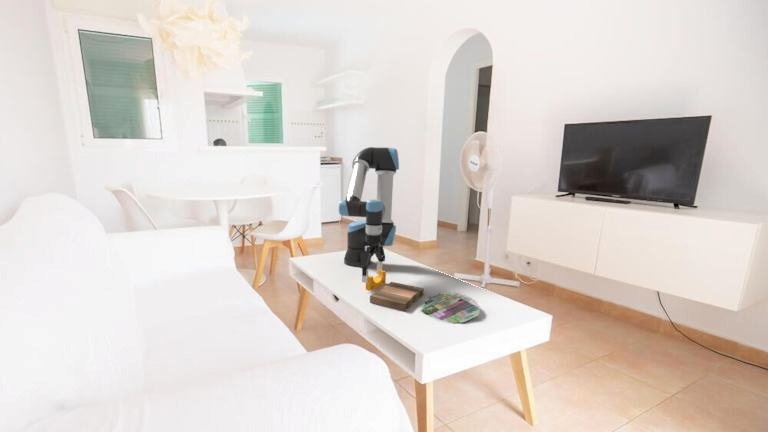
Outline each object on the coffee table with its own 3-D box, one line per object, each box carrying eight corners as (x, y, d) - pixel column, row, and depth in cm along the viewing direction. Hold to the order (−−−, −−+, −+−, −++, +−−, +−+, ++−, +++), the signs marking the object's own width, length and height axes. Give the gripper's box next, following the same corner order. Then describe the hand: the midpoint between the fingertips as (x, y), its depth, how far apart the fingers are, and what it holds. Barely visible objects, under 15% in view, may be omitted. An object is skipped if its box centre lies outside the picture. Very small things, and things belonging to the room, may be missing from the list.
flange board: (391, 287, 172) (391, 281, 172) (423, 294, 165) (423, 288, 165) (369, 302, 155) (370, 295, 154) (404, 311, 148) (405, 303, 147)
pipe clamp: (378, 282, 180) (378, 269, 179) (385, 284, 178) (385, 271, 177) (362, 289, 170) (362, 275, 169) (370, 291, 168) (370, 277, 167)
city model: (407, 316, 148) (406, 302, 147) (436, 293, 166) (436, 280, 165) (464, 337, 134) (465, 322, 132) (490, 309, 152) (490, 296, 150)
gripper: (367, 239, 158) (365, 287, 161) (393, 230, 180) (391, 272, 183) (352, 237, 161) (351, 284, 164) (379, 228, 183) (378, 270, 186)
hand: (372, 278), depth 174 cm, fingers open, 13 cm apart
